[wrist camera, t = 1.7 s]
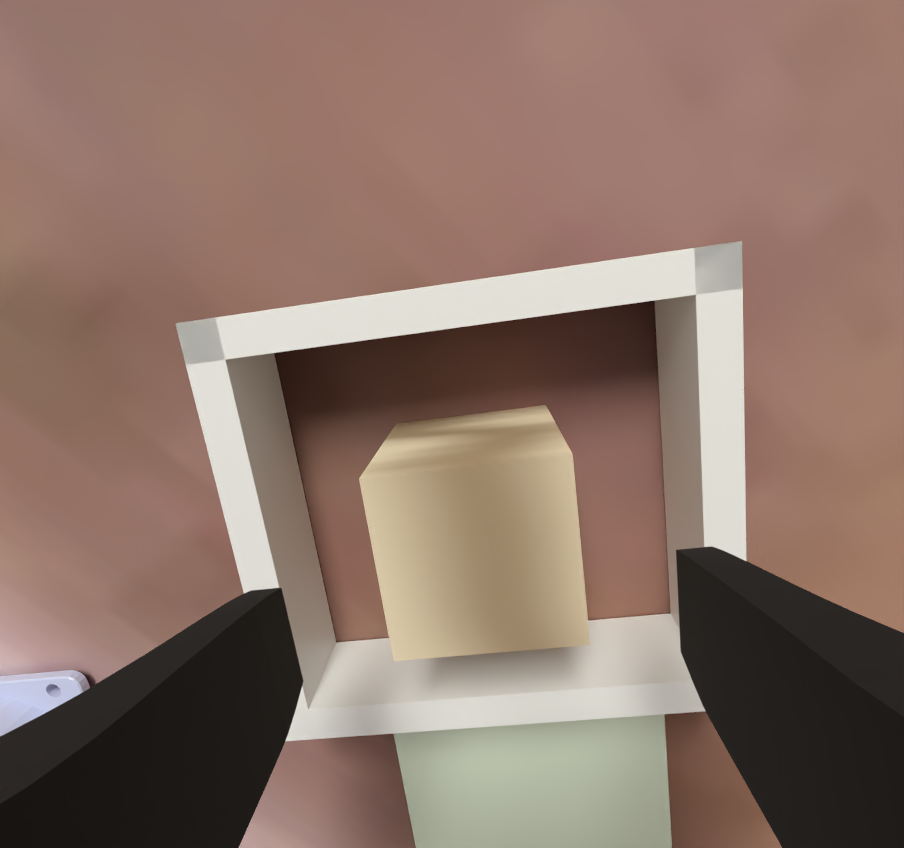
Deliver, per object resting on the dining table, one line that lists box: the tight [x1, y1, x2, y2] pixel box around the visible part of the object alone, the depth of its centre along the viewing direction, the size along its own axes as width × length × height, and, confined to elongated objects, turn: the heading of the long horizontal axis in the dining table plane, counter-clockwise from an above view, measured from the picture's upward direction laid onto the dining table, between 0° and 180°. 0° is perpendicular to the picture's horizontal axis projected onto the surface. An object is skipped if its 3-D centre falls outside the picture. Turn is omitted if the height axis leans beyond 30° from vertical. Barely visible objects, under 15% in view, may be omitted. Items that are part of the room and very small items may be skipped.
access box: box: [175, 241, 746, 741], centre depth 15 cm, size 13×12×3 cm
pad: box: [394, 714, 672, 848], centre depth 19 cm, size 9×9×1 cm
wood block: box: [359, 405, 590, 661], centre depth 14 cm, size 4×4×5 cm
